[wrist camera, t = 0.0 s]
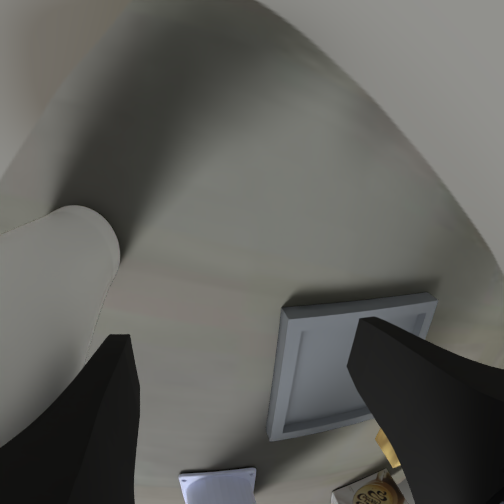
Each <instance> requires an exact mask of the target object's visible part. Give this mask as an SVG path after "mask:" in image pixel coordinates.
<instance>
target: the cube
mask: <svg viewBox="0 0 504 504" xmlns="http://www.w3.org/2000/svg"><path fill="white" fill-rule="evenodd" d="M375 440H376V441H377V443H378V445H379V446H380V448H381V449H382V451H383V453H384V454H385V456H386V457H387V459H388V461H389V462H390V464H391V465H392V467H393V468H395V467H397V466H400V465H401V464H400V462H399V460H398V458H397V456H396V454H395V451H394V449H393V447H392V445H391V444H390V442H389V440H388V438H387V437H386V435H385V434H384V432H383V430H382V429H381V428H380V430H379V432H378V434H377V436H376V438H375Z"/></svg>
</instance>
